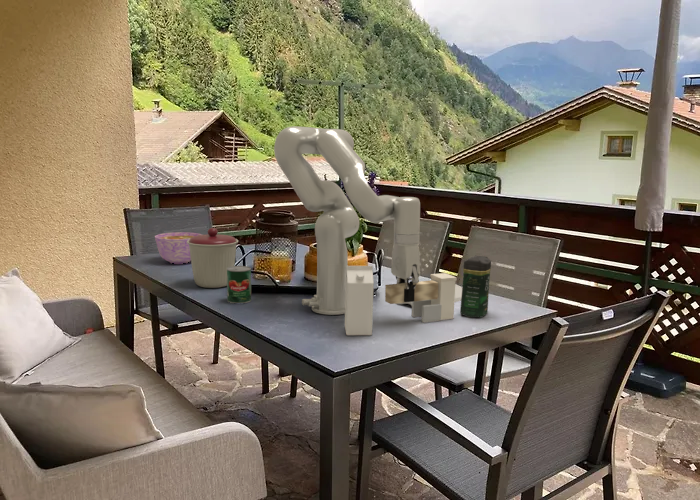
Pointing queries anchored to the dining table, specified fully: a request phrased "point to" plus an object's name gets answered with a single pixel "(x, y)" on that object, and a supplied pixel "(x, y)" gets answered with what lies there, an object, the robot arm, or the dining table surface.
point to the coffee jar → (475, 286)
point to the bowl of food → (175, 246)
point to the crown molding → (457, 295)
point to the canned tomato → (239, 284)
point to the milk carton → (359, 300)
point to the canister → (212, 258)
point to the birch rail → (422, 292)
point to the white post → (437, 301)
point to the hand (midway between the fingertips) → (405, 299)
